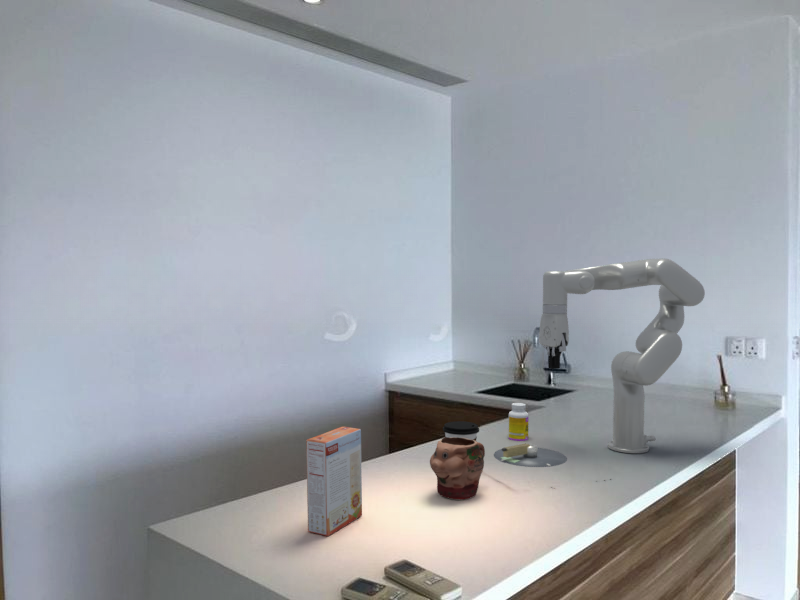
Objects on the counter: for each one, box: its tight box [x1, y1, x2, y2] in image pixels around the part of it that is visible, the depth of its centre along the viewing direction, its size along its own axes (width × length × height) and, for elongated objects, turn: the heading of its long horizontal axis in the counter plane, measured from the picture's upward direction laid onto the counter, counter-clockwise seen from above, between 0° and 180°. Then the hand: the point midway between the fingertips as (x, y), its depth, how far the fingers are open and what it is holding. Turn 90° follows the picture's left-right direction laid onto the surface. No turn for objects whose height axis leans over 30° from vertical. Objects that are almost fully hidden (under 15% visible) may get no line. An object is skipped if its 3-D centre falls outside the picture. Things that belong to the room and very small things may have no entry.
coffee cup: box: [442, 420, 480, 441], centre depth 194 cm, size 11×11×12 cm
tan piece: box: [501, 443, 539, 458], centre depth 196 cm, size 13×4×4 cm, turn 123°
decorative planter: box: [429, 436, 486, 501], centre depth 169 cm, size 20×12×14 cm, turn 141°
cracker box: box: [305, 426, 363, 537], centre depth 148 cm, size 14×6×21 cm, turn 150°
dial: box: [493, 447, 568, 468], centre depth 199 cm, size 22×22×1 cm
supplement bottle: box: [507, 402, 529, 442], centre depth 220 cm, size 7×7×13 cm
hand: (554, 368), depth 205 cm, fingers closed
